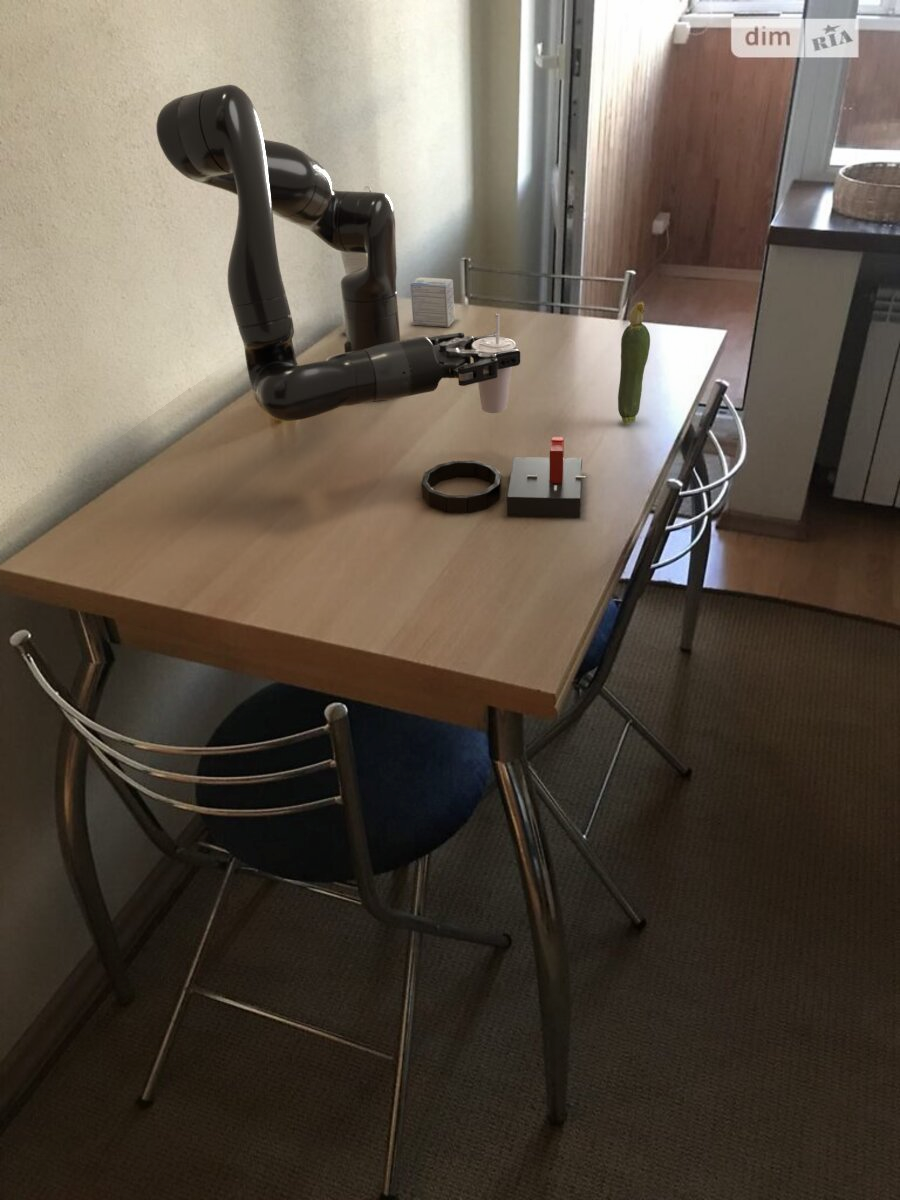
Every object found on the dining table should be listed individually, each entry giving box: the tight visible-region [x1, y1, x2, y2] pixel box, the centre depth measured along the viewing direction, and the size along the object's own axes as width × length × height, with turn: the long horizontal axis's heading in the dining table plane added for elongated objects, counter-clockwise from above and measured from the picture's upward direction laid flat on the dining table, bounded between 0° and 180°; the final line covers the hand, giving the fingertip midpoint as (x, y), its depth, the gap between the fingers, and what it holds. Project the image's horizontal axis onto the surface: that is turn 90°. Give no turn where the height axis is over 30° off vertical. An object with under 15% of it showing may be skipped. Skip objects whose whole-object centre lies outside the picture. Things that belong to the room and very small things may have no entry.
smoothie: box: [472, 313, 517, 414], centre depth 136 cm, size 6×6×14 cm
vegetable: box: [617, 300, 651, 426], centre depth 149 cm, size 4×4×20 cm
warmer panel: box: [506, 456, 587, 518], centre depth 135 cm, size 11×12×3 cm
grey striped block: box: [409, 277, 456, 328], centre depth 195 cm, size 8×4×9 cm, turn 71°
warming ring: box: [420, 459, 503, 514], centre depth 137 cm, size 11×11×2 cm
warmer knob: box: [549, 436, 565, 483], centre depth 132 cm, size 4×2×5 cm, turn 172°
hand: (508, 348), depth 136 cm, fingers closed on smoothie, 6 cm apart
